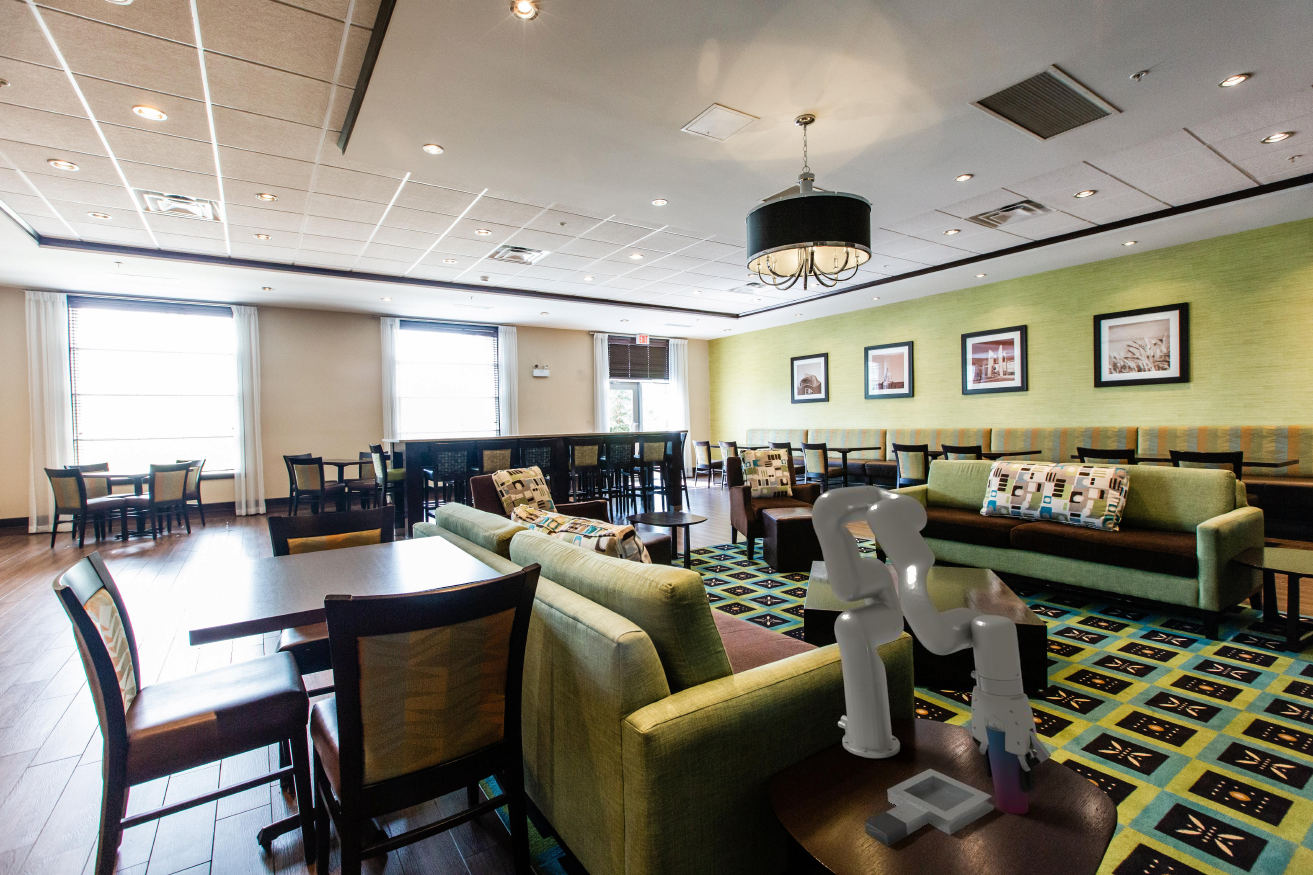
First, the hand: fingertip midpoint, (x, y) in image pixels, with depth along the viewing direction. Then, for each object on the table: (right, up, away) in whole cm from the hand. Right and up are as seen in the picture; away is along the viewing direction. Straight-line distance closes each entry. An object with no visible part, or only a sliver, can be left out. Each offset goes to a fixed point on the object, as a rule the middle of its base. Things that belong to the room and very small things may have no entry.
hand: (1010, 781), depth 111 cm
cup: (0, -5, 0) cm, 5 cm away
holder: (-17, -6, -1) cm, 18 cm away
